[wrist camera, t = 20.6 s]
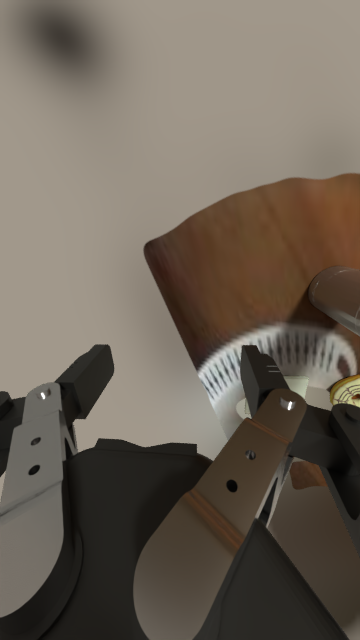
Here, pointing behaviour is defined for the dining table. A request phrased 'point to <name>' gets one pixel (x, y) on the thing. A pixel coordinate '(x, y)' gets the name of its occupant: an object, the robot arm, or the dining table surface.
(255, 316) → the dining table surface
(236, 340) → the dining table surface
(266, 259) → the dining table surface
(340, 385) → the decorated donut
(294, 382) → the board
